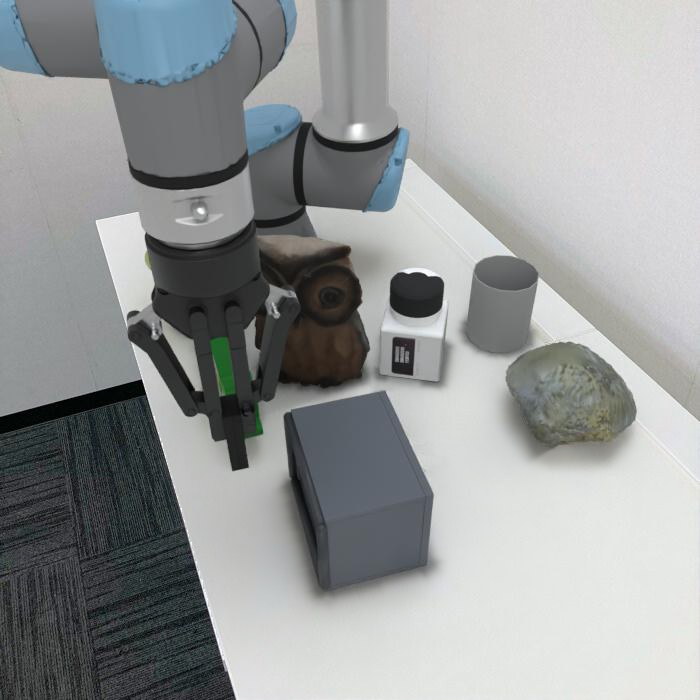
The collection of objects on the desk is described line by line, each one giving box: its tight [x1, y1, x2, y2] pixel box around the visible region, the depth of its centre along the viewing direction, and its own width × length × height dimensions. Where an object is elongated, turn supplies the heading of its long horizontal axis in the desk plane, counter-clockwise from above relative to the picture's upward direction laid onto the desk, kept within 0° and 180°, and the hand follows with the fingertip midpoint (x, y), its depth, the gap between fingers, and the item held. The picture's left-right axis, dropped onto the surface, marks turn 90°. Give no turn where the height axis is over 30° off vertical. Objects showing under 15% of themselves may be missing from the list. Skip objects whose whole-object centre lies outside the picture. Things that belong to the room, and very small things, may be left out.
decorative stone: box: [505, 340, 638, 447], centre depth 82 cm, size 14×15×10 cm
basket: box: [282, 389, 435, 592], centre depth 70 cm, size 15×11×11 cm
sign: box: [210, 337, 264, 440], centre depth 86 cm, size 26×3×10 cm, turn 20°
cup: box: [465, 254, 540, 354], centre depth 94 cm, size 8×8×10 cm
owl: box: [254, 235, 371, 390], centre depth 86 cm, size 13×13×20 cm
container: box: [378, 267, 450, 382], centre depth 89 cm, size 8×8×13 cm
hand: (238, 458), depth 63 cm, fingers closed
